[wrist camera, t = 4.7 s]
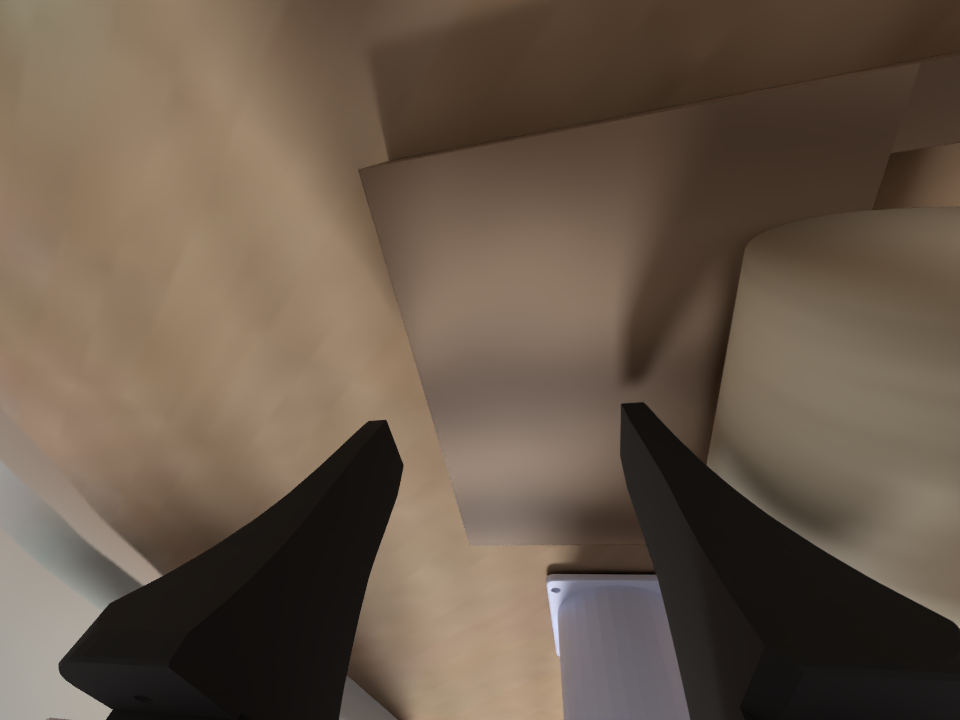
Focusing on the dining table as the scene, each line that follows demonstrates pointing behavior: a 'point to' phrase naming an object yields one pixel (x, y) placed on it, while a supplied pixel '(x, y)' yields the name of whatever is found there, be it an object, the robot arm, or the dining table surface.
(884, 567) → the roller
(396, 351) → the dining table surface
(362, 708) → the red white striped box
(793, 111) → the board
